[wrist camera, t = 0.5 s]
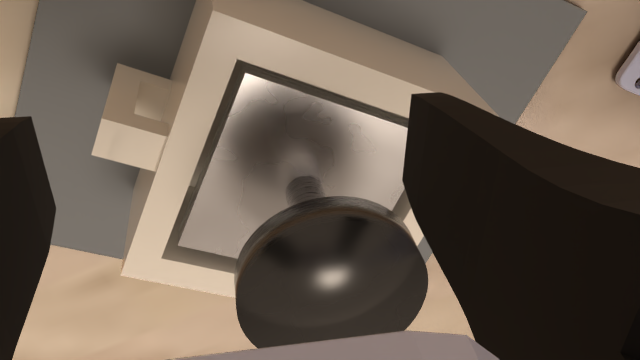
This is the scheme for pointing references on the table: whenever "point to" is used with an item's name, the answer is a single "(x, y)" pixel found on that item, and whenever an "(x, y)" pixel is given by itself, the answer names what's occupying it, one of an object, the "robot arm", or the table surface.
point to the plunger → (307, 213)
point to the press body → (211, 100)
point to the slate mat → (161, 53)
